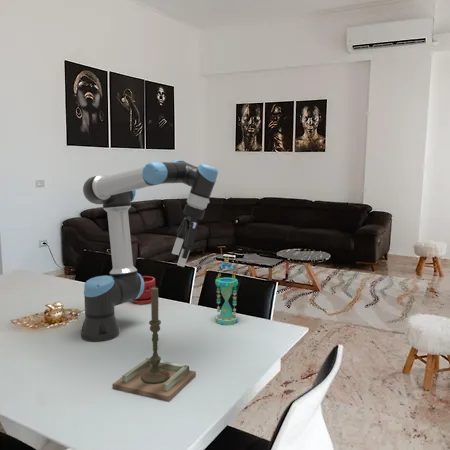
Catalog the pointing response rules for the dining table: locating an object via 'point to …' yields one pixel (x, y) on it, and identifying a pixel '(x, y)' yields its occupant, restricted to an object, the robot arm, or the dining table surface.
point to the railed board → (162, 391)
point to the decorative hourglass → (226, 297)
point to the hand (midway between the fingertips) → (177, 259)
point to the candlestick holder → (155, 346)
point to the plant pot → (146, 290)
